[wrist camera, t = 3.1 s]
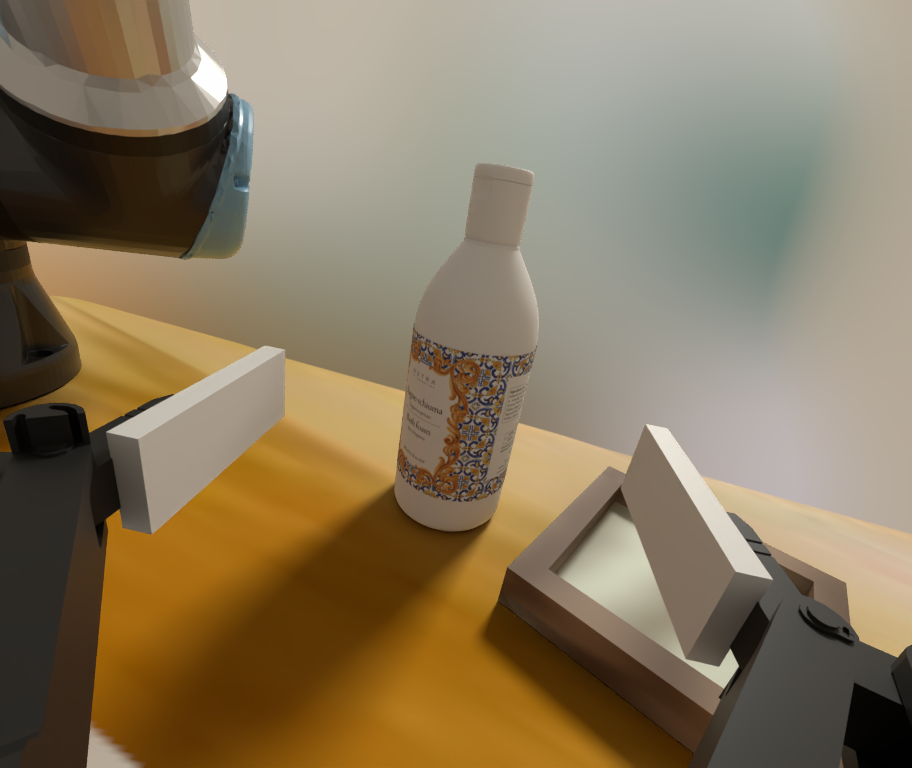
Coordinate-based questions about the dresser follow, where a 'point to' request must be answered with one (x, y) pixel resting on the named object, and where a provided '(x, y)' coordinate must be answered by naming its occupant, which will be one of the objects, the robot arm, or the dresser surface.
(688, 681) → the tray
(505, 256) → the bath foam
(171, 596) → the dresser surface
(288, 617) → the dresser surface
